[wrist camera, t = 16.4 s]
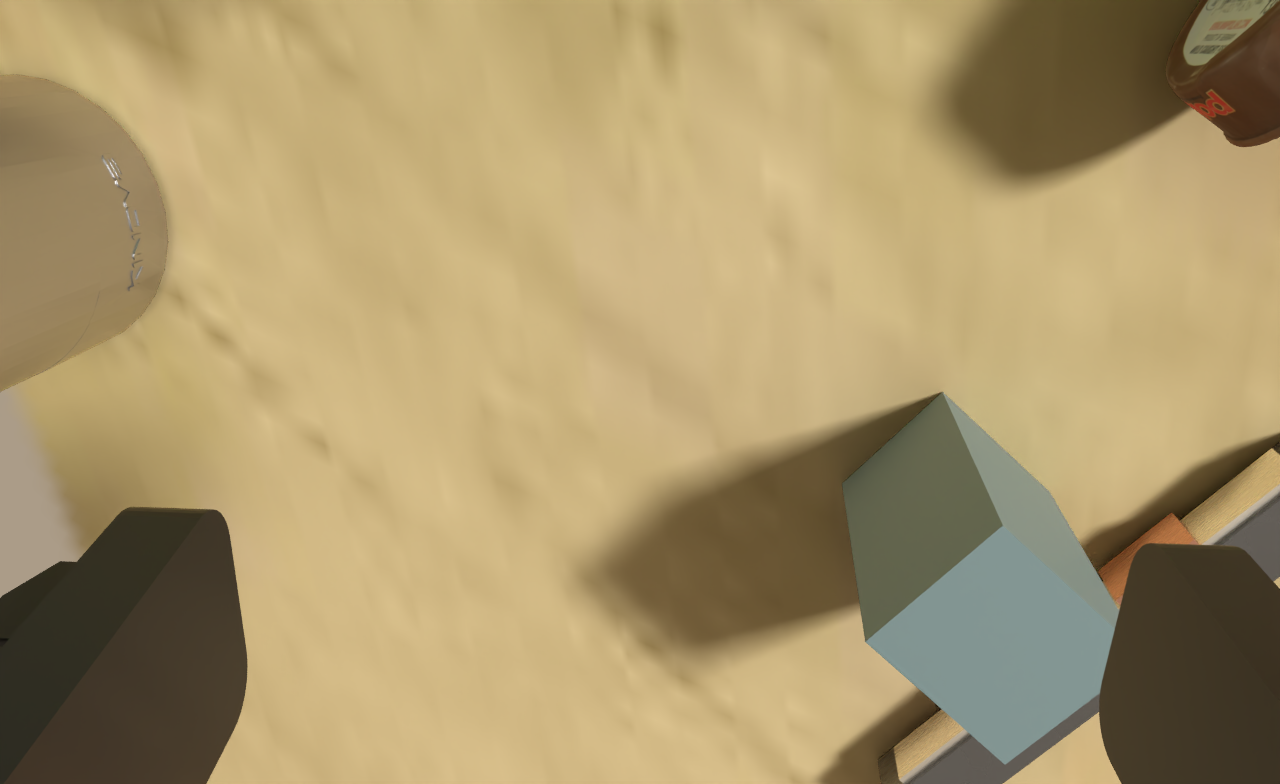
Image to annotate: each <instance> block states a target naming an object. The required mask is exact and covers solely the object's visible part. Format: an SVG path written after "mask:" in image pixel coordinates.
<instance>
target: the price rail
mask: <svg viewBox="0 0 1280 784" xmlns="http://www.w3.org/2000/svg"><path fill="white" fill-rule="evenodd" d="M1148 543H1165V544H1195V545H1225V546H1236V547H1240V548H1241V549H1243V550H1245V551H1246V552H1247V553H1248V554H1249V555H1250V556H1251V557H1252V558H1253V559H1254V561H1255V562H1256V563H1257V564H1258V565H1259V566H1260V567H1261V568H1262V570H1263V571H1264V572H1265V573H1266V574H1267V575H1268V576H1269V577H1270V579H1271V580H1272V581H1275V580H1276V579H1277V578H1279V577H1280V442H1279V443H1278V444H1276V445H1275V446H1274V447H1273V448H1271V449H1270V450H1269V451H1267V452H1266V453H1265V454H1264V455H1262V456H1261V457H1260V458H1259V459H1257V460H1256V461H1255V462H1253V463H1252V464H1251V465H1250V466H1248V467H1247V468H1246V469H1245V470H1243V471H1242V472H1241V473H1240V474H1238V475H1237V476H1236V477H1234V478H1233V479H1232V480H1231V481H1229V482H1228V483H1227V484H1226V485H1224V486H1223V487H1222V488H1221V489H1219V490H1218V491H1217V492H1216V493H1214V494H1213V495H1212V496H1210V497H1209V498H1208V499H1207V500H1205V501H1204V502H1203V503H1202V504H1200V505H1199V506H1198V507H1197V508H1195V509H1194V510H1193V511H1191V512H1190V513H1189V514H1188V515H1186V516H1185V517H1184V518H1183V519H1181V520H1179V519H1178V518H1177V517H1176V516H1175V515H1174V514H1173V513H1172V512H1171V513H1170V514H1169V515H1168V516H1166V517H1165V518H1164V519H1162V520H1161V521H1160V522H1159V523H1157V524H1156V525H1155V526H1154V527H1152V528H1151V529H1150V530H1149V531H1147V532H1146V533H1145V534H1144V535H1142V536H1141V537H1140V538H1139V539H1137V540H1136V541H1135V542H1134V543H1132V544H1131V545H1130V546H1129V547H1127V548H1126V549H1125V550H1124V551H1122V552H1121V553H1120V554H1119V555H1117V556H1116V557H1115V558H1113V559H1112V560H1111V561H1110V562H1108V563H1107V564H1106V565H1105V566H1103V567H1102V568H1101V569H1100V570H1098V572H1099V574H1100V576H1101V577H1102V579H1103V584H1104V586H1105V588H1106V589H1107V591H1108V593H1109V594H1110V596H1111V598H1112V600H1113V601H1114V603H1115V605H1116V606H1117V608H1118V610H1120V605H1121V601H1122V597H1123V593H1124V589H1125V585H1126V581H1127V577H1128V573H1129V569H1130V566H1131V562H1132V560H1133V558H1134V556H1135V554H1136V553H1137V551H1138V550H1139V549H1140V548H1141V547H1142V546H1143V545H1145V544H1148ZM1099 698H1100V693H1099V694H1098V695H1097V696H1095V697H1094V698H1093V699H1091V700H1090V701H1089V702H1087V703H1086V704H1085V705H1083V706H1082V707H1081V708H1079V709H1078V710H1077V711H1075V712H1074V713H1073V714H1071V715H1070V716H1069V717H1068V718H1066V719H1065V720H1064V721H1062V722H1061V723H1060V724H1058V725H1057V726H1056V727H1054V728H1053V729H1052V730H1050V731H1049V732H1048V733H1046V734H1045V735H1044V736H1042V737H1041V738H1040V739H1038V740H1037V741H1036V742H1035V743H1033V744H1032V745H1031V746H1029V747H1028V748H1027V749H1025V750H1024V751H1023V752H1021V753H1020V754H1019V755H1017V756H1016V757H1015V758H1013V759H1012V760H1011V761H1009V762H1008V763H1007V764H1003V763H1002V762H1001V761H1000V760H999V759H998V758H997V757H995V756H994V755H993V754H992V753H991V752H990V751H989V750H988V749H986V748H985V747H984V746H983V745H982V744H981V743H980V742H978V741H977V740H976V739H975V738H974V737H973V736H972V735H971V734H969V733H968V732H967V731H966V730H965V729H964V728H963V727H961V726H960V725H959V724H958V723H957V722H956V721H955V720H954V719H952V718H951V717H950V716H949V715H948V714H947V713H946V712H944V711H943V710H942V709H941V710H940V711H939V712H937V713H936V714H935V715H934V716H932V717H931V718H930V719H928V720H927V721H926V722H925V723H923V724H922V725H921V726H920V727H918V728H917V729H916V730H915V731H913V732H912V733H911V734H910V735H908V736H907V737H906V738H904V739H903V740H902V741H901V742H899V743H898V744H897V745H896V746H894V747H893V748H892V749H891V750H889V751H888V752H887V753H886V754H884V755H883V756H882V757H881V758H879V759H878V766H879V773H880V780H881V784H1003V783H1004V782H1005V781H1007V780H1008V779H1009V778H1011V777H1012V776H1013V775H1015V774H1016V773H1018V772H1019V771H1020V770H1022V769H1023V768H1024V767H1026V766H1027V765H1028V764H1030V763H1031V762H1032V761H1034V760H1035V759H1036V758H1038V757H1039V756H1040V755H1042V754H1043V753H1044V752H1046V751H1047V750H1048V749H1050V748H1051V747H1052V746H1054V745H1055V744H1056V743H1058V742H1059V741H1060V740H1062V739H1063V738H1064V737H1066V736H1067V735H1068V734H1070V733H1071V732H1072V731H1074V730H1075V729H1076V728H1078V727H1079V726H1080V725H1082V724H1083V723H1084V722H1086V721H1087V720H1089V719H1090V718H1091V717H1093V716H1094V715H1095V714H1097V713H1098V712H1099Z"/></svg>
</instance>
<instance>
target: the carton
mask: <svg viewBox="0 0 1280 784" xmlns="http://www.w3.org/2000/svg"><path fill="white" fill-rule="evenodd" d="M842 487H843V494H844V501H845V507H846V514H847V521H848V528H849V535H850V541H851V548H852V555H853V562H854V568H855V575H856V582H857V589H858V595H859V602H860V609H861V616H862V622H863V629H864V636H865V642H866V643H867V644H868V645H870V646H871V647H872V648H873V649H874V650H875V651H876V652H877V653H879V654H880V655H881V656H882V657H883V658H884V659H885V660H887V661H888V662H889V663H890V664H891V665H892V666H893V667H894V668H896V669H897V670H898V671H899V672H900V673H901V674H902V675H904V676H905V677H906V678H907V679H908V680H909V681H910V682H912V683H913V684H914V685H915V686H916V687H917V688H918V689H919V690H921V691H922V692H923V693H924V694H925V695H926V696H927V697H929V698H930V699H931V700H932V701H933V702H934V703H935V704H936V705H938V706H939V707H940V708H941V709H942V710H943V711H944V712H946V713H947V714H948V715H949V716H950V717H951V718H952V719H954V720H955V721H956V722H957V723H958V724H959V725H960V726H961V727H963V728H964V729H965V730H966V731H967V732H968V733H969V734H971V735H972V736H973V737H974V738H975V739H976V740H977V741H978V742H980V743H981V744H982V745H983V746H984V747H985V748H986V749H988V750H989V751H990V752H991V753H992V754H993V755H994V756H995V757H997V758H998V759H999V760H1000V761H1001V762H1002V763H1003V764H1007V763H1008V762H1009V761H1011V760H1012V759H1013V758H1015V757H1016V756H1017V755H1019V754H1020V753H1021V752H1023V751H1024V750H1025V749H1027V748H1028V747H1029V746H1031V745H1032V744H1033V743H1035V742H1036V741H1037V740H1038V739H1040V738H1041V737H1042V736H1044V735H1045V734H1046V733H1048V732H1049V731H1050V730H1052V729H1053V728H1054V727H1056V726H1057V725H1058V724H1060V723H1061V722H1062V721H1064V720H1065V719H1066V718H1068V717H1069V716H1070V715H1071V714H1073V713H1074V712H1075V711H1077V710H1078V709H1079V708H1081V707H1082V706H1083V705H1085V704H1086V703H1087V702H1089V701H1090V700H1091V699H1093V698H1094V697H1095V696H1097V695H1098V694H1099V693H1100V689H1101V684H1102V679H1103V675H1104V671H1105V667H1106V663H1107V659H1108V655H1109V650H1110V646H1111V642H1112V638H1113V634H1114V630H1115V626H1116V622H1117V618H1118V614H1119V610H1118V608H1117V606H1116V605H1115V603H1114V601H1113V600H1112V598H1111V596H1110V594H1109V593H1108V591H1107V589H1106V588H1105V586H1104V584H1103V582H1102V581H1101V579H1100V577H1099V576H1098V574H1097V572H1096V570H1095V569H1094V567H1093V565H1092V564H1091V562H1090V560H1089V558H1088V557H1087V555H1086V553H1085V552H1084V550H1083V548H1082V546H1081V545H1080V543H1079V541H1078V540H1077V538H1076V536H1075V534H1074V533H1073V531H1072V529H1071V528H1070V526H1069V524H1068V522H1067V521H1066V519H1065V517H1064V516H1063V514H1062V512H1061V510H1060V509H1059V507H1058V505H1057V504H1056V502H1055V500H1054V498H1053V497H1052V495H1051V493H1050V492H1049V491H1048V490H1047V489H1046V488H1045V487H1044V486H1043V485H1042V484H1040V483H1039V482H1038V481H1037V480H1036V479H1035V478H1034V477H1033V476H1032V475H1031V474H1030V473H1029V472H1028V471H1027V470H1025V469H1024V468H1023V467H1022V466H1021V465H1020V464H1019V463H1018V462H1017V461H1016V460H1015V459H1014V458H1013V457H1012V456H1011V455H1009V454H1008V453H1007V452H1006V451H1005V450H1004V449H1003V448H1002V447H1001V446H1000V445H999V444H998V443H997V442H996V441H994V440H993V439H992V438H991V437H990V436H989V435H988V434H987V433H986V432H985V431H984V430H983V429H982V428H981V427H979V426H978V425H977V424H976V423H975V422H974V421H973V420H972V419H971V418H970V417H969V416H968V415H967V414H966V413H965V412H963V411H962V410H961V409H960V408H959V407H958V406H957V405H956V404H955V403H954V402H953V401H952V400H951V399H950V398H948V397H947V396H946V395H945V394H944V393H943V392H942V393H941V394H940V395H939V396H937V397H936V398H935V399H934V400H933V401H932V402H931V403H930V404H929V405H928V406H926V407H925V408H924V409H923V410H922V411H921V412H920V413H919V414H918V415H917V416H916V417H914V418H913V419H912V420H911V421H910V422H909V423H908V424H907V425H906V426H905V427H904V428H902V429H901V430H900V431H899V432H898V433H897V434H896V435H895V436H894V437H893V438H891V439H890V440H889V441H888V442H887V443H886V444H885V445H884V446H883V447H882V448H881V449H879V450H878V451H877V452H876V453H875V454H874V455H873V456H872V457H871V458H870V459H869V460H867V461H866V462H865V463H864V464H863V465H862V466H861V467H860V468H859V469H858V470H856V471H855V472H854V473H853V474H852V475H851V476H850V477H849V478H848V479H847V480H846V481H844V482H843V483H842Z"/></svg>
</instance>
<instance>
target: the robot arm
mask: <svg viewBox="0 0 1280 784" xmlns="http://www.w3.org/2000/svg"><path fill="white" fill-rule="evenodd" d="M167 247H168V235H167V223H166V212H165V209H164V205H163V202H162V198H161V195H160V191H159V188H158V184H157V182H156V180H155V178H154V176H153V174H152V172H151V170H150V168H149V166H148V164H147V162H146V160H145V158H144V156H143V154H142V153H141V152H140V150H139V149H138V148H137V146H136V145H135V144H134V142H133V141H132V139H131V138H130V137H129V135H128V134H127V133H126V131H125V130H124V129H123V128H122V127H121V126H120V125H119V124H118V123H117V122H116V121H115V120H113V119H112V118H111V117H110V116H109V115H108V114H107V113H106V112H105V111H104V110H103V109H102V108H101V107H99V106H98V105H96V104H94V103H93V102H91V101H90V100H88V99H87V98H85V97H84V96H82V95H80V94H79V93H77V92H76V91H74V90H72V89H69V88H67V87H64V86H61V85H59V84H56V83H54V82H51V81H49V80H46V79H41V78H35V77H29V76H23V75H2V76H0V392H1V391H3V390H5V389H8V388H10V387H12V386H14V385H16V384H18V383H20V382H22V381H24V380H26V379H28V378H30V377H33V376H35V375H37V374H39V373H42V372H44V371H46V370H48V369H50V368H52V367H54V366H56V365H58V364H60V363H62V362H64V361H66V360H68V359H70V358H72V357H74V356H76V355H78V354H80V353H82V352H84V351H86V350H89V349H91V348H93V347H95V346H97V345H99V344H101V343H103V342H105V341H107V340H108V339H110V338H112V337H114V336H116V335H118V334H120V333H122V332H124V331H125V330H126V329H127V328H128V327H129V326H130V325H131V324H133V323H134V322H135V321H136V320H137V319H138V318H139V317H140V316H142V314H143V313H144V311H145V310H146V308H147V307H148V305H149V304H150V302H151V301H152V299H153V298H154V296H155V295H156V292H157V289H158V287H159V284H160V281H161V278H162V276H163V273H164V270H165V263H166V255H167ZM246 682H247V652H246V645H245V638H244V631H243V624H242V617H241V610H240V603H239V596H238V589H237V582H236V575H235V568H234V561H233V554H232V547H231V541H230V535H229V530H228V526H227V523H226V521H225V519H224V517H223V516H222V514H221V513H220V512H218V511H217V510H210V509H180V508H150V507H130V508H127V509H125V510H123V511H122V512H121V513H120V514H119V515H118V516H117V517H116V518H115V519H114V520H113V521H112V522H111V524H110V525H109V526H108V527H107V528H106V529H105V530H104V532H103V533H102V534H101V535H100V536H99V537H98V538H97V540H96V541H95V542H94V543H93V544H92V545H91V546H90V548H89V549H88V550H87V551H86V552H85V553H84V554H83V555H82V557H81V558H80V559H79V560H78V561H77V562H62V561H60V562H58V563H57V564H55V565H53V566H52V567H50V568H48V569H47V570H45V571H43V572H42V573H40V574H38V575H37V576H35V577H33V578H31V579H30V580H28V581H26V582H25V583H23V584H21V585H20V586H18V587H16V588H15V589H13V590H11V591H10V592H8V593H6V594H5V595H3V596H2V597H1V598H0V784H206V783H207V781H208V779H209V777H210V775H211V773H212V771H213V769H214V768H215V766H216V764H217V762H218V760H219V758H220V756H221V754H222V752H223V750H224V748H225V746H226V744H227V742H228V740H229V738H230V736H231V734H232V733H233V731H234V728H235V726H236V724H237V722H238V719H239V716H240V713H241V709H242V706H243V701H244V696H245V690H246ZM1099 717H1100V727H1101V733H1102V738H1103V742H1104V746H1105V749H1106V752H1107V755H1108V757H1109V760H1110V762H1111V764H1112V766H1113V768H1114V770H1115V772H1116V774H1117V776H1118V778H1119V780H1120V781H1121V783H1122V784H1280V589H1279V588H1278V587H1277V585H1276V584H1275V583H1274V582H1273V581H1272V580H1271V579H1270V577H1269V576H1268V575H1267V574H1266V573H1265V572H1264V571H1263V570H1262V568H1261V567H1260V566H1259V565H1258V564H1257V563H1256V562H1255V561H1254V559H1253V558H1252V557H1251V556H1250V555H1249V554H1248V553H1247V552H1246V551H1245V550H1243V549H1241V548H1240V547H1236V546H1225V545H1195V544H1165V543H1148V544H1145V545H1143V546H1142V547H1141V548H1140V549H1139V550H1138V551H1137V553H1136V554H1135V556H1134V558H1133V560H1132V562H1131V566H1130V569H1129V573H1128V577H1127V581H1126V585H1125V589H1124V593H1123V597H1122V601H1121V605H1120V610H1119V614H1118V618H1117V622H1116V626H1115V630H1114V634H1113V638H1112V642H1111V646H1110V650H1109V655H1108V659H1107V663H1106V667H1105V671H1104V675H1103V679H1102V684H1101V689H1100V698H1099Z"/></svg>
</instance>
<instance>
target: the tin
mask: <svg viewBox="0 0 1280 784" xmlns="http://www.w3.org/2000/svg"><path fill="white" fill-rule="evenodd" d="M1166 78H1167V80H1168V83H1169V85H1170V87H1171V88H1172V90H1173V92H1174V93H1175V94H1176V95H1177V96H1178V97H1179V98H1180V99H1182V100H1183V101H1184V102H1185V103H1186V104H1188V105H1189V106H1190V107H1192V108H1193V109H1195V110H1196V111H1197V112H1199V113H1200V114H1201V115H1203V116H1204V117H1205V118H1207V119H1208V120H1209V121H1211V122H1212V123H1213V124H1214V125H1216V126H1217V127H1218V128H1220V129H1221V130H1222V131H1223V132H1224V135H1225V137H1226V139H1227V140H1228V141H1229V142H1230V143H1232V144H1233V145H1236V146H1239V147H1251V146H1256V145H1261V144H1264V143H1267V142H1269V141H1271V140H1273V139H1277V138H1279V137H1280V0H1201V1H1200V2H1199V4H1198V5H1197V6H1196V8H1195V9H1194V11H1193V12H1192V14H1191V15H1190V17H1189V18H1188V20H1187V21H1186V23H1185V24H1184V26H1183V28H1182V30H1181V31H1180V33H1179V35H1178V37H1177V39H1176V41H1175V43H1174V45H1173V47H1172V49H1171V52H1170V55H1169V57H1168V60H1167V64H1166Z"/></svg>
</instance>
